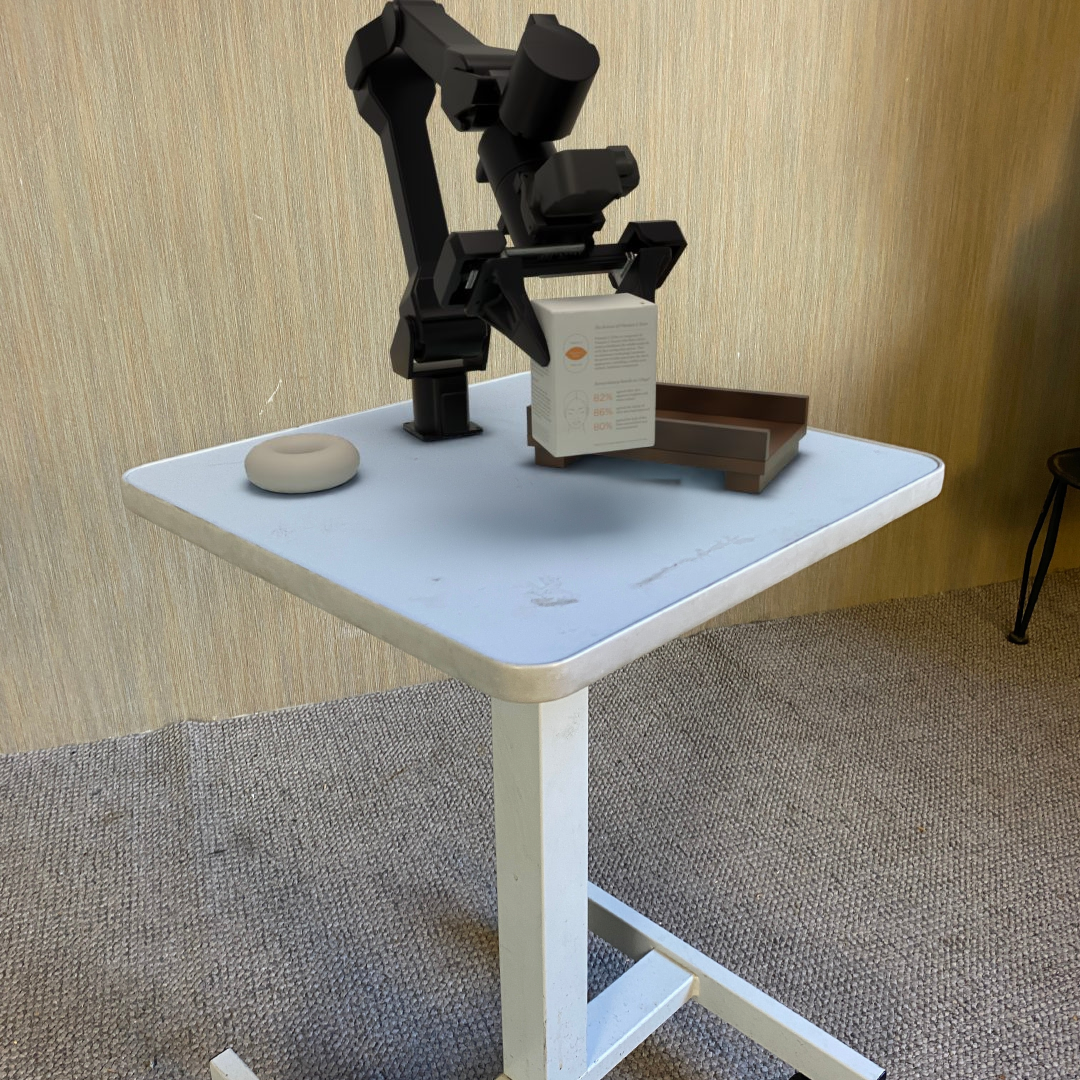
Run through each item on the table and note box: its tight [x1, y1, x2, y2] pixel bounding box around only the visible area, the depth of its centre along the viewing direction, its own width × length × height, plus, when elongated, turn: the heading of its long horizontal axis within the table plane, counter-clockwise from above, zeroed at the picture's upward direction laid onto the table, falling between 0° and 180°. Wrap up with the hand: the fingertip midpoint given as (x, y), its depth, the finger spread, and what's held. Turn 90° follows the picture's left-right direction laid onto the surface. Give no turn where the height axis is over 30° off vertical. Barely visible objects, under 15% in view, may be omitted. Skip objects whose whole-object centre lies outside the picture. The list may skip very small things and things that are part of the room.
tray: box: [525, 381, 810, 495], centre depth 96 cm, size 22×14×6 cm, turn 63°
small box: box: [529, 293, 659, 457], centre depth 76 cm, size 8×6×10 cm
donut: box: [243, 432, 361, 494], centre depth 92 cm, size 10×4×10 cm
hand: (600, 357), depth 75 cm, fingers closed on small box, 8 cm apart
